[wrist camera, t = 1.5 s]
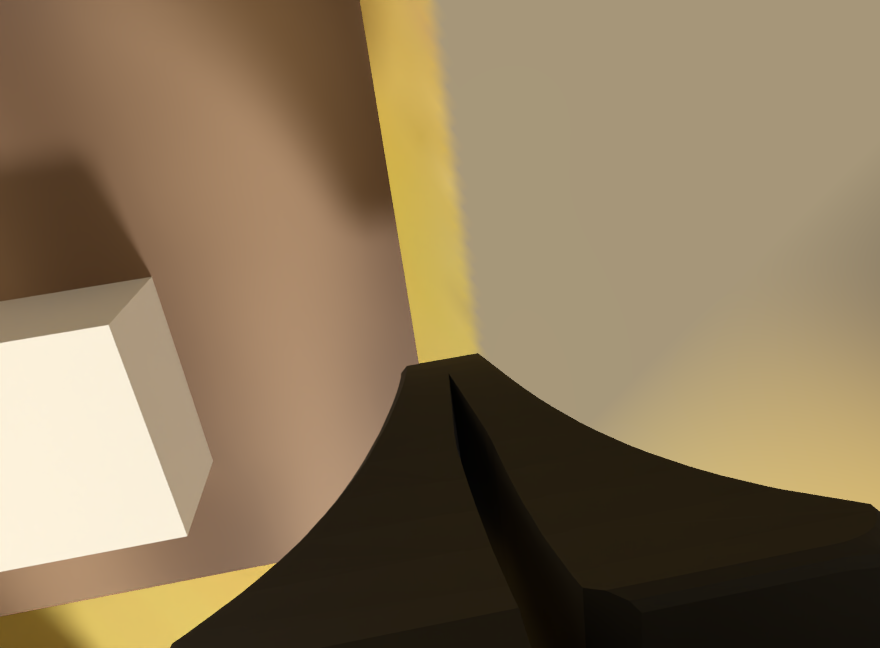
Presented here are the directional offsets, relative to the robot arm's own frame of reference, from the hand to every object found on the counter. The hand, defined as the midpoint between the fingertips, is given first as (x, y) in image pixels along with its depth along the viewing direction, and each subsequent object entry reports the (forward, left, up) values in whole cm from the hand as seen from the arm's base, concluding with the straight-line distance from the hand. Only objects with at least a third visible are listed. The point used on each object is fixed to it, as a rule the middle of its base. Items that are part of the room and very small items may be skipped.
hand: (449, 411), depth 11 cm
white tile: (-3, +7, -4) cm, 8 cm away
